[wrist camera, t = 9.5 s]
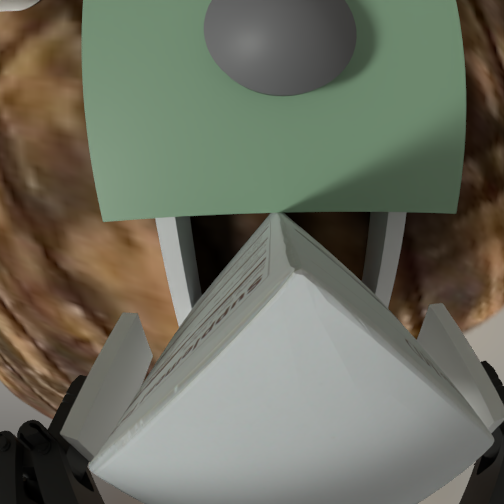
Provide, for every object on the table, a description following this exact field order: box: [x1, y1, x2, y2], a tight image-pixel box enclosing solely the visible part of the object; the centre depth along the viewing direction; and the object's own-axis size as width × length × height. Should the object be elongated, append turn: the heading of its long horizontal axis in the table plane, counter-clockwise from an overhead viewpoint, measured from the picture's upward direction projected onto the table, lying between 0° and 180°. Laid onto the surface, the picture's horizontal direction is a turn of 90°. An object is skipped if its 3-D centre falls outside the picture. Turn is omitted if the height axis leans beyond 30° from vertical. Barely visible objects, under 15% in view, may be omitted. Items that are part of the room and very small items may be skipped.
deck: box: [82, 0, 466, 327], centre depth 13 cm, size 23×16×5 cm
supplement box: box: [89, 212, 494, 504], centre depth 10 cm, size 7×7×13 cm
